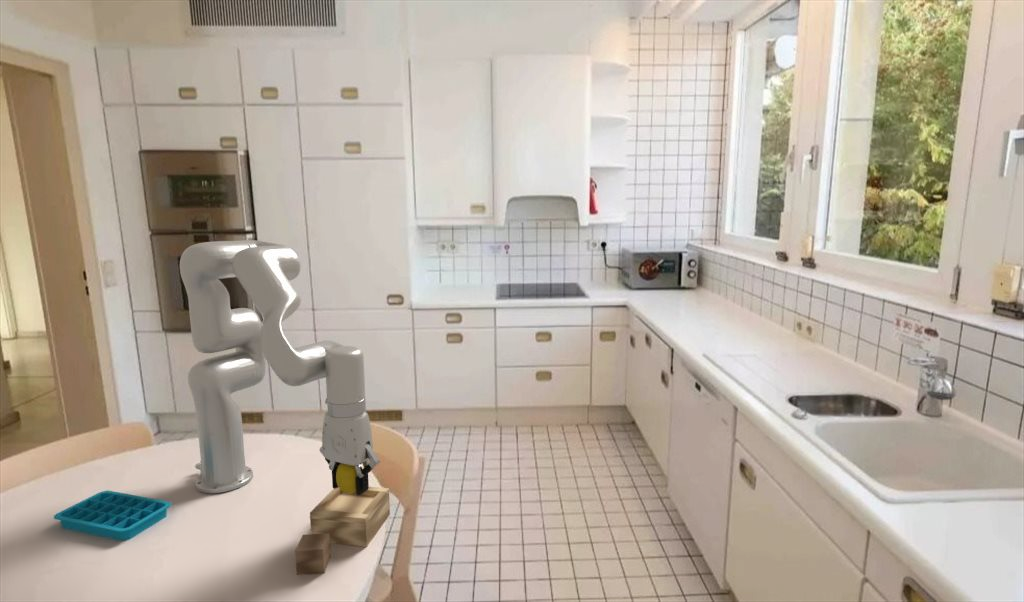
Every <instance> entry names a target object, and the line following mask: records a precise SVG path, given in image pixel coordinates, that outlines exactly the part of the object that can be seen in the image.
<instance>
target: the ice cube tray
mask: <svg viewBox="0 0 1024 602" xmlns="http://www.w3.org/2000/svg"><path fill="white" fill-rule="evenodd" d="M171 506H172V502H170V501H168V500H162V499H157V498H152V497H145V496H140V495H134V494H129V493H125V492H118V491H112V490H103V491H100V492H98V493H95V494H94V495H91V496H90V497H88V498H85V499H83V500H81V501H80V502H78V503H75V504H74V505H72V506H71V505H70V507H67V508H65V509H64V510H62V511H59V512H56V513H55V514H54V515H53V519H54V520H57V521H60V523H61V527H62V528H63V529H67V530H72V531H75V532H81V533H86V534H91V535H95V536H99V537H103V538H108V539H109V538H110V539H114V540H119V541H127V540H131V539H132V538H134V537H135V536H137V535H139V534H140V533H143V532H144V531H145V530H148V529H149V528H150V527H153V526H155V524H156V523H159V522H160V521H162V520H164V519H165V518H167V515H168V514H167V513H168V512H167V511H168V509H169V508H170V507H171Z"/></svg>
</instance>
